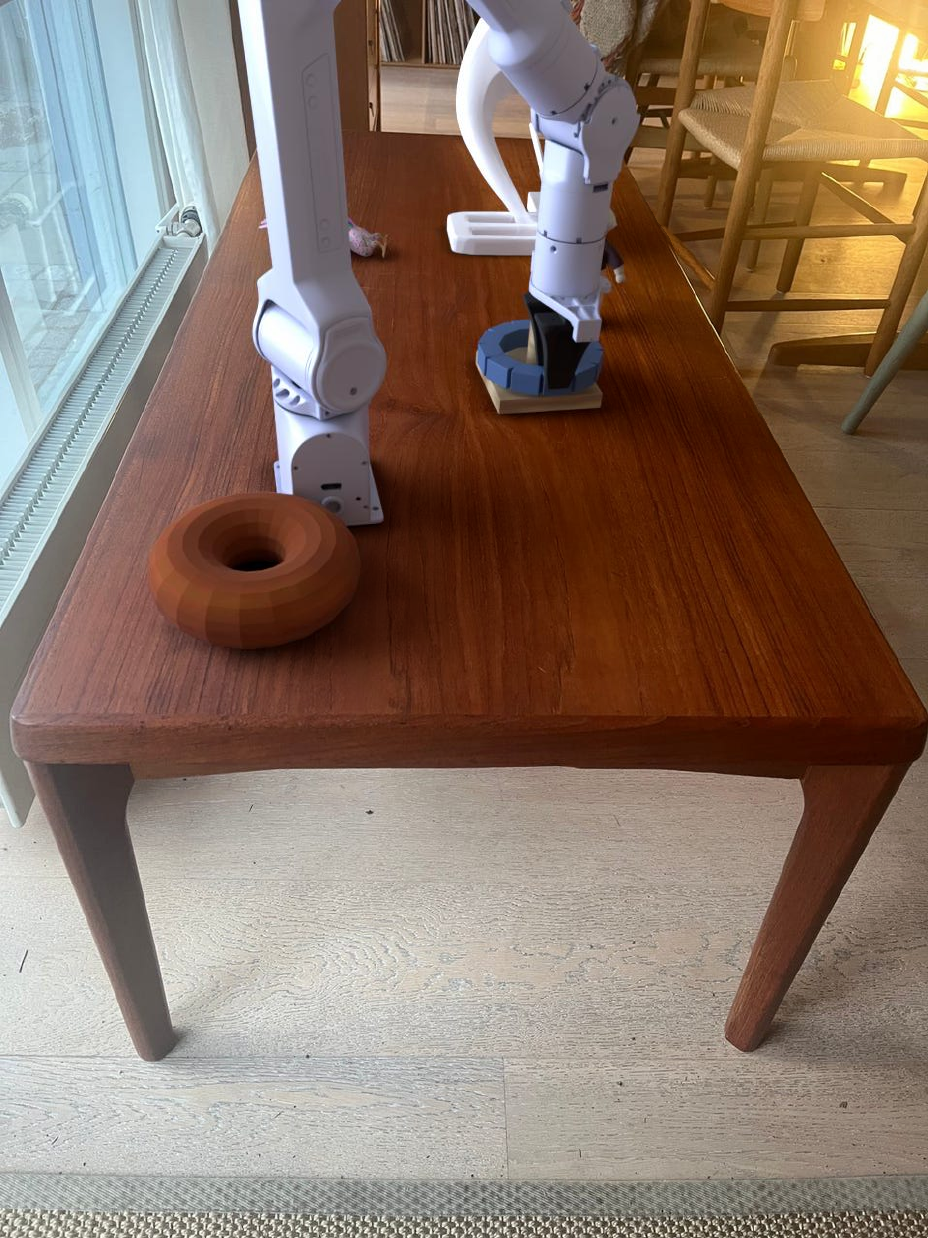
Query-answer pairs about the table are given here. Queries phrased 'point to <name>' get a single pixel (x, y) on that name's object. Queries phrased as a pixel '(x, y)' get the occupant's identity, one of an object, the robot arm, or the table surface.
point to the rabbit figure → (358, 239)
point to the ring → (528, 375)
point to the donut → (257, 600)
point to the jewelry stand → (490, 160)
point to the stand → (525, 403)
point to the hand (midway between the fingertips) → (553, 379)
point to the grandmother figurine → (611, 258)
